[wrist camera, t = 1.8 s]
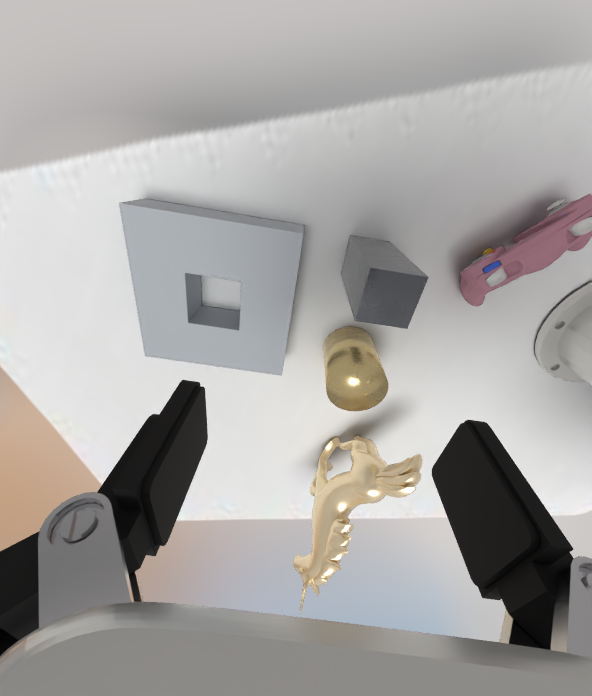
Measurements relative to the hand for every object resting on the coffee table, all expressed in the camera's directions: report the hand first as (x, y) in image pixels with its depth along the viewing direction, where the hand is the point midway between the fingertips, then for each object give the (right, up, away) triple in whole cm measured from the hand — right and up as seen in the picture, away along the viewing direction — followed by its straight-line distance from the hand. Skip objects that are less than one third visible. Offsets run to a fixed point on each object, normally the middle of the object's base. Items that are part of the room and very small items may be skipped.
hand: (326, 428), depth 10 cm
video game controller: (+18, +12, +15) cm, 26 cm away
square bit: (+5, +11, +16) cm, 20 cm away
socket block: (-8, +9, +18) cm, 22 cm away
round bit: (+5, +3, +21) cm, 22 cm away
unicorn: (+5, -10, +30) cm, 32 cm away
